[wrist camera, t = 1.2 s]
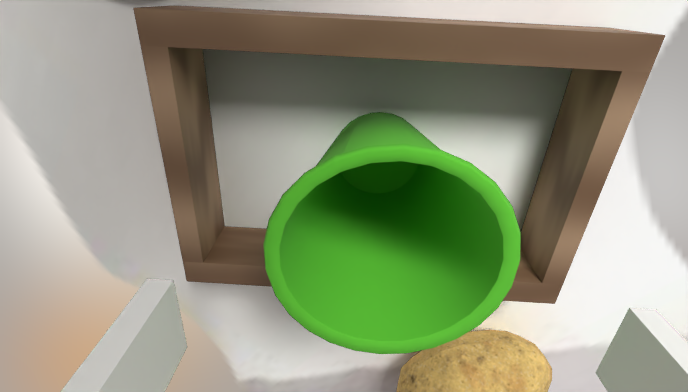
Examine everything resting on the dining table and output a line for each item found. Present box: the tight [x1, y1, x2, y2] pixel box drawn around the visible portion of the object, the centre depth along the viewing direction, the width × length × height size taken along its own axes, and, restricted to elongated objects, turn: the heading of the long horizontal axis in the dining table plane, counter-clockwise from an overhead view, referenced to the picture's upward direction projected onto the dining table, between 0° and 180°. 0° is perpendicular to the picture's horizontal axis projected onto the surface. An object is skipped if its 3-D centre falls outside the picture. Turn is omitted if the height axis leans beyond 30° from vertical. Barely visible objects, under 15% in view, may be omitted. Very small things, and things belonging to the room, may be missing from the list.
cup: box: [263, 112, 521, 354], centre depth 18 cm, size 9×9×11 cm
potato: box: [396, 330, 552, 392], centre depth 28 cm, size 7×11×6 cm, turn 109°
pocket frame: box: [133, 6, 665, 304], centre depth 21 cm, size 15×22×4 cm
